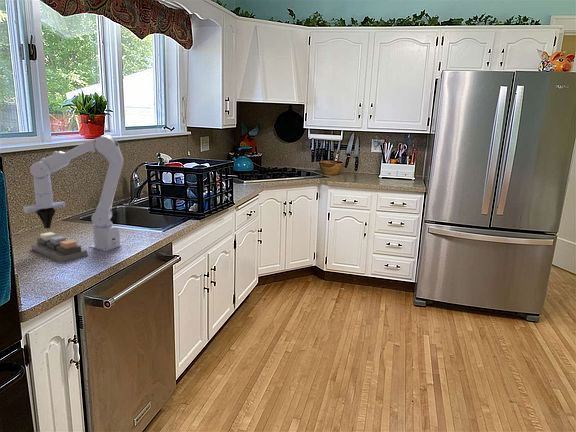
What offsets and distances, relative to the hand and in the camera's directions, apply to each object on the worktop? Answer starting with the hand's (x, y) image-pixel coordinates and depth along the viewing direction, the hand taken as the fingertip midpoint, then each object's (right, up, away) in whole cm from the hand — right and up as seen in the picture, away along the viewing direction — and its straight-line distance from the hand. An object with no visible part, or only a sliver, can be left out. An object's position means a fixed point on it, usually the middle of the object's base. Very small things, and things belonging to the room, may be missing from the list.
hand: (47, 227), depth 162 cm
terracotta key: (+12, -7, -7) cm, 16 cm away
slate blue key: (+6, -6, -3) cm, 9 cm away
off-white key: (0, -4, +1) cm, 4 cm away
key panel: (+6, -9, -2) cm, 11 cm away
